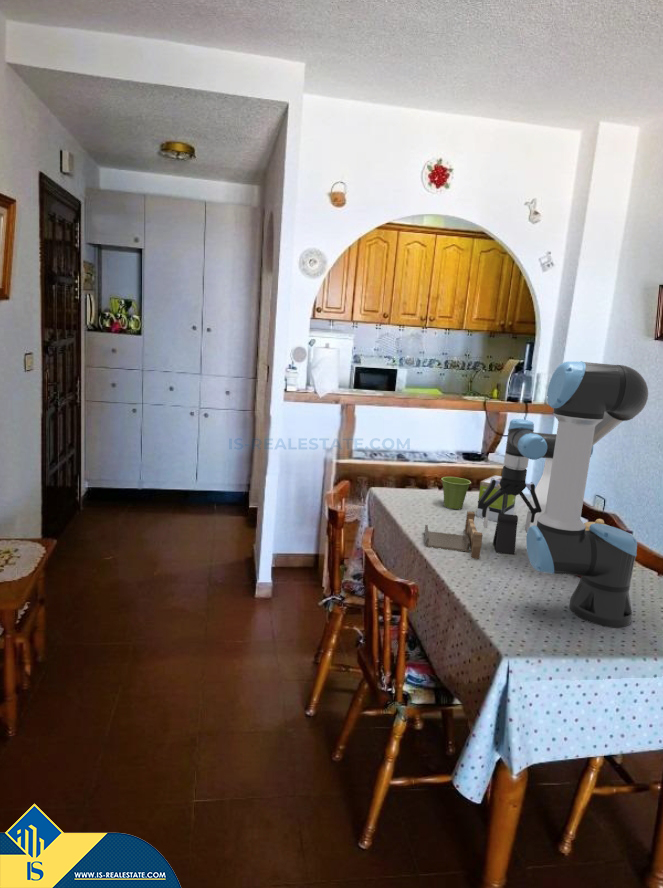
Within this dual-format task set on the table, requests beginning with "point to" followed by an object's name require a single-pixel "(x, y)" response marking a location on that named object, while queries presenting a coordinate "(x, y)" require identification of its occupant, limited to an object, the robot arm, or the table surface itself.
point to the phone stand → (505, 534)
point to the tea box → (501, 505)
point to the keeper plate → (447, 540)
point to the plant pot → (454, 491)
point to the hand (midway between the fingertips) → (505, 528)
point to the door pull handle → (473, 536)
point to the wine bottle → (542, 490)
